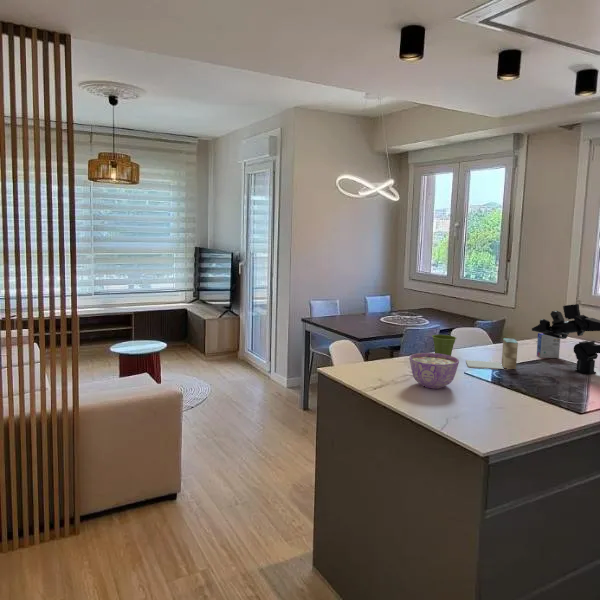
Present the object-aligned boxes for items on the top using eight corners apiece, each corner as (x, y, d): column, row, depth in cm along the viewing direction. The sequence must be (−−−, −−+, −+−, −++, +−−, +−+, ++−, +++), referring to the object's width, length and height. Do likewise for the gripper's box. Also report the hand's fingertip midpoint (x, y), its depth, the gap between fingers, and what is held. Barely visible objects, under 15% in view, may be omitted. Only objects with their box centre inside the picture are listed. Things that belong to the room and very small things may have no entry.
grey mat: (500, 363, 254) (500, 362, 254) (504, 369, 242) (504, 368, 242) (465, 361, 257) (465, 360, 257) (468, 367, 246) (468, 366, 246)
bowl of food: (422, 394, 203) (424, 365, 202) (399, 380, 222) (400, 353, 221) (467, 391, 209) (469, 363, 207) (441, 377, 228) (442, 351, 226)
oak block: (512, 365, 251) (514, 338, 250) (515, 370, 243) (517, 342, 241) (501, 364, 252) (503, 338, 251) (504, 369, 244) (506, 342, 242)
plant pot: (456, 362, 255) (457, 339, 253) (431, 360, 257) (432, 338, 256) (454, 356, 266) (455, 335, 265) (430, 355, 269) (431, 333, 267)
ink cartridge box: (554, 355, 272) (556, 328, 270) (559, 358, 267) (562, 330, 265) (535, 355, 273) (537, 328, 271) (540, 357, 267) (542, 330, 265)
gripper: (578, 314, 253) (548, 319, 266) (555, 306, 243) (525, 311, 256) (579, 337, 250) (549, 340, 263) (556, 329, 240) (526, 333, 253)
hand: (537, 331), depth 259 cm, fingers open, 9 cm apart
